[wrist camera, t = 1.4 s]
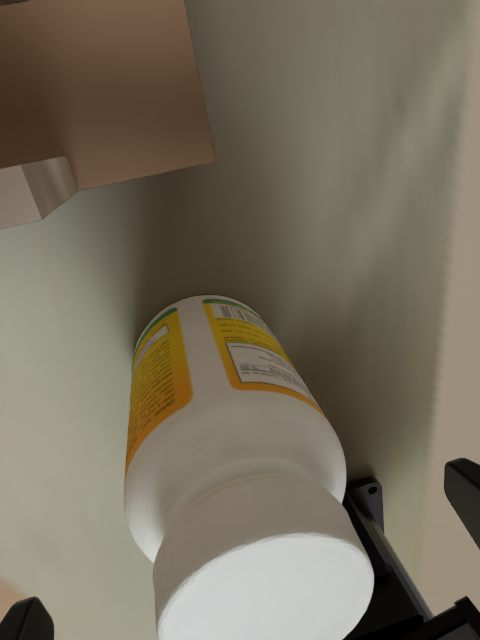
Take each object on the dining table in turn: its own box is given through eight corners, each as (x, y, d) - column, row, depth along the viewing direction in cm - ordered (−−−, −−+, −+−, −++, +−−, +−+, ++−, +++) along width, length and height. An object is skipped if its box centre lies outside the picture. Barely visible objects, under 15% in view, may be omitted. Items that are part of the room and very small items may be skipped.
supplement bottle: (259, 275, 15) (416, 457, 6) (279, 394, 17) (415, 645, 9) (111, 312, 14) (64, 569, 6) (153, 430, 17) (164, 741, 8)
